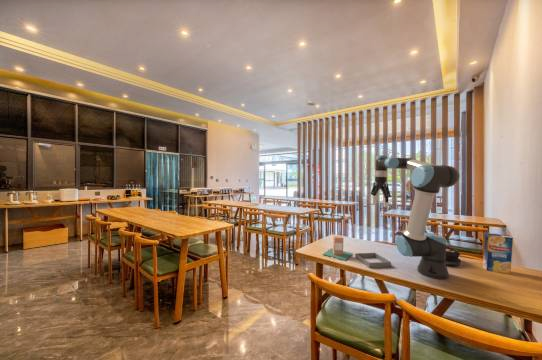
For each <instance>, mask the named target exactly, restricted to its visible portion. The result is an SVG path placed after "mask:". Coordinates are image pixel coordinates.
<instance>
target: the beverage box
mask: <svg viewBox="0 0 542 360" xmlns="http://www.w3.org/2000/svg"><path fill="white" fill-rule="evenodd" d="M513 242H514V237H512V236H511V235H509V234H502V233H501V234H498V233H491V232H484V244H483V258H482V260H483V261H482V267H483V268H484V269H485V270H486V271H488V272H494V273H500V274H508V275H511V274H512V273H511V271H512V256H513Z"/></svg>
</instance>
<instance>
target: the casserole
mask: <svg viewBox="0 0 542 360" xmlns="http://www.w3.org/2000/svg"><path fill="white" fill-rule="evenodd" d="M460 256H461V253H460V251H459V250H458V249H457V248H454V247H452V246H451V247H450V246H446V262H445V263H446V265H452V266H460V265H461V262H462V260H461V258H460Z"/></svg>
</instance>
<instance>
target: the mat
mask: <svg viewBox="0 0 542 360" xmlns="http://www.w3.org/2000/svg"><path fill="white" fill-rule="evenodd" d="M323 255H324V257H327V256H328V258H331V257H333V259H335V258H337V259H336V260H339V261H345V262H346V261H347V260H348V259H349V258H351V256H353V252H349V251H346V250H345V251H344V250H343V255H334V254H333V247H332V248H330V249H328V250H327V251H325V252H324V253H322V256H323Z"/></svg>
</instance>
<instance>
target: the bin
mask: <svg viewBox="0 0 542 360" xmlns="http://www.w3.org/2000/svg"><path fill="white" fill-rule="evenodd" d="M354 255H355V257H354V258H355V259H356V260H358V261H359V262H360V263H362V264H363V265H365V266H366V267H367V268H369V269H371V268H373V269H374V268H391V267H392V262H391V260H388V259H386V258H385V257H383V256H382V255H380V254H378V253H377V252H361V253H360V252H359V253H357V252H356V253H354ZM365 258H375V259H377V260H378V262H369V261H368V260H367V259H365Z"/></svg>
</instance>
